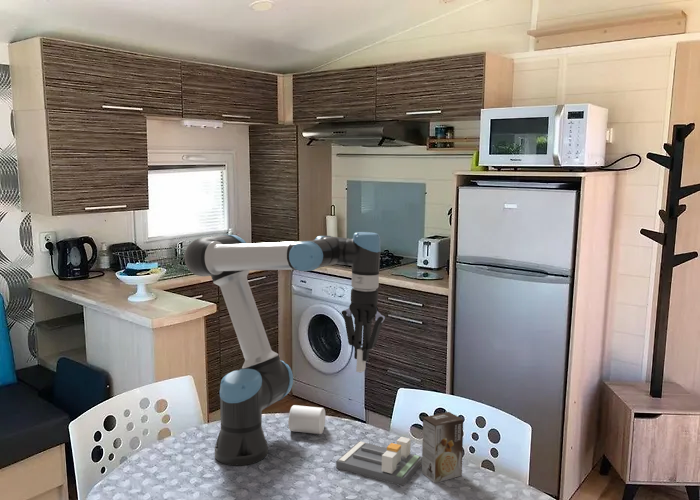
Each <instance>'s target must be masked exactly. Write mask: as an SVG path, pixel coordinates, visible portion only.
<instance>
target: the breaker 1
mask: <svg viewBox="0 0 700 500" xmlns="http://www.w3.org/2000/svg"><path fill="white" fill-rule="evenodd" d="M396 465H397V453H394V452H390V451H386V452H385V453H384V454H383V455H382V471H384V472H387V473H391V474H392V473H393V472H394V471H395V470H396Z"/></svg>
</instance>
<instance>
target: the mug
mask: <svg viewBox="0 0 700 500" xmlns="http://www.w3.org/2000/svg"><path fill="white" fill-rule="evenodd" d="M325 425H326V410H325V408H324V407H318V406H306V405H298V404H293V405H292V406H291V407H290V410H289V415H288V429H289V431H290V432H296V433H306V434H315V435H321V434H323V432H324V429H325Z"/></svg>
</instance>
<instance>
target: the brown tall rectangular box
mask: <svg viewBox="0 0 700 500" xmlns="http://www.w3.org/2000/svg"><path fill="white" fill-rule="evenodd" d="M463 437H464V419H463V418H461V417H460V416H457V415H456V414H454V413H452V412H450V411H447V412H442V413H437V414H432V415H428V416H424V417H422V448H421V451H422V452H421V453H422V454H421V457H422V465H421V474H422V475H424V476H426V477H427V478H428V479H429V480H430V481H432V482H433V483H434V484H437V483H440V482H444V481H448V480H451V479H454V478H457V477H458V478H459V477H461V476H462V475H463V443H464V442H463V440H464V438H463Z"/></svg>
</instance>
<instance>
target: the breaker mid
mask: <svg viewBox="0 0 700 500" xmlns="http://www.w3.org/2000/svg"><path fill="white" fill-rule="evenodd" d="M386 448H387V451H390V452H394V453H397V464H398V463H399V462H400V461H401V445H398V444H397V443H393V442H390V443H389V444H388V445H387V446H386Z"/></svg>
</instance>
